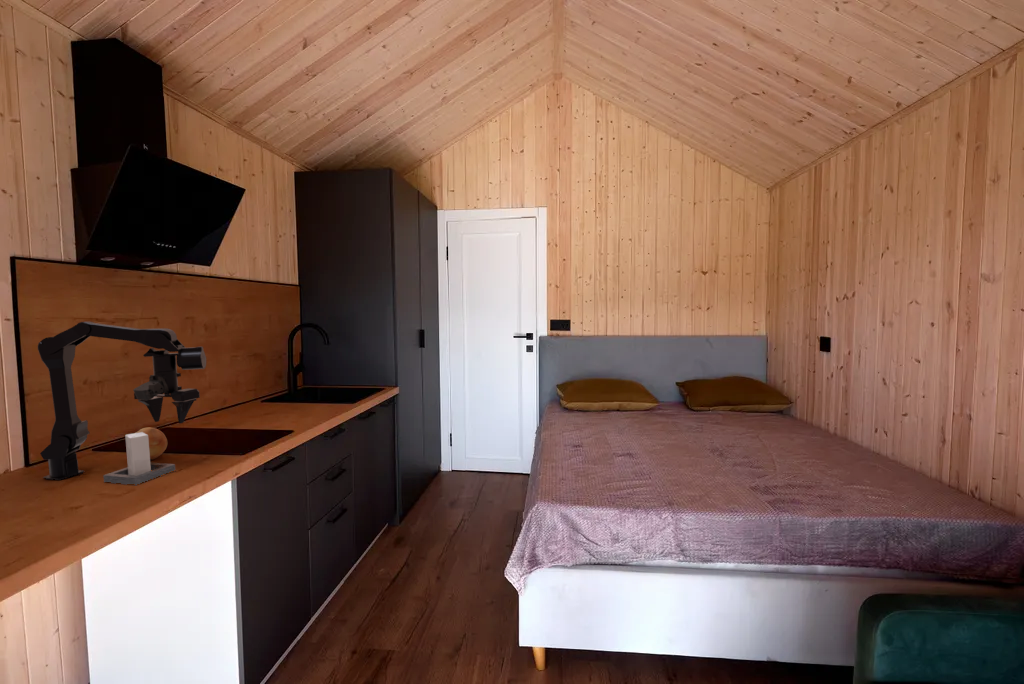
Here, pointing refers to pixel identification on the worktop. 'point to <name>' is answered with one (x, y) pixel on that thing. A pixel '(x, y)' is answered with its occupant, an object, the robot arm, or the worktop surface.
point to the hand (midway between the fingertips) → (169, 422)
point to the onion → (155, 441)
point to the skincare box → (138, 453)
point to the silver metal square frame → (124, 478)
